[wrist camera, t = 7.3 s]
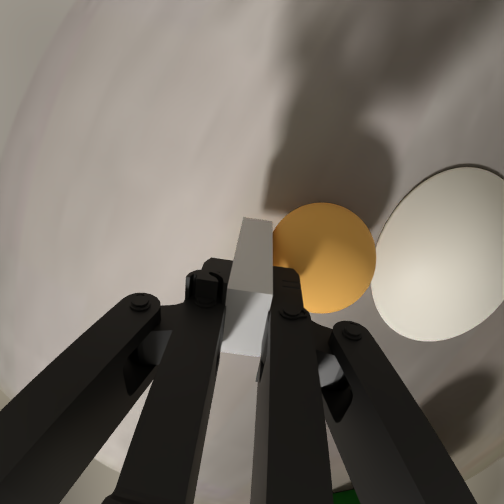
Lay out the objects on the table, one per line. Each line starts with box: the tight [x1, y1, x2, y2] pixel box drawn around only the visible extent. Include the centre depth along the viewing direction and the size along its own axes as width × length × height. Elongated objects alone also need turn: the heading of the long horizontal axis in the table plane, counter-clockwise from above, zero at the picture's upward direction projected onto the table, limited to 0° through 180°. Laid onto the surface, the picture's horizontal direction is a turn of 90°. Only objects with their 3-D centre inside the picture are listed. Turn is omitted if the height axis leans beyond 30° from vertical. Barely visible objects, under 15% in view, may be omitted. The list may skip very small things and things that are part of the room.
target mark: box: [371, 167, 504, 341], centre depth 18 cm, size 13×13×1 cm
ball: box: [273, 203, 376, 313], centre depth 16 cm, size 6×6×6 cm
